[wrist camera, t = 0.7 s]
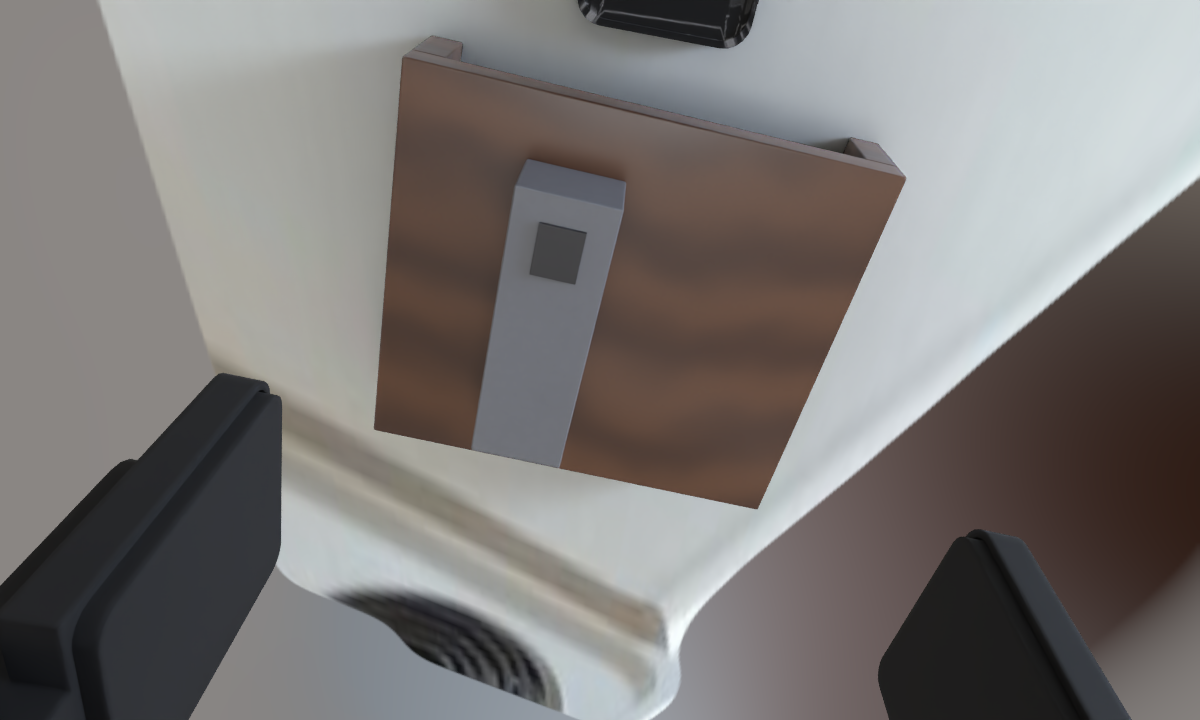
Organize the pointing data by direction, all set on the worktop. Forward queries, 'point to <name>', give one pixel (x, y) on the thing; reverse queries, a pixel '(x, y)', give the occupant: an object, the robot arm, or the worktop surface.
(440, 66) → the shelf
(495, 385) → the grey long block
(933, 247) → the worktop surface
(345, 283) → the worktop surface
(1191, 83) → the worktop surface
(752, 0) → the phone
